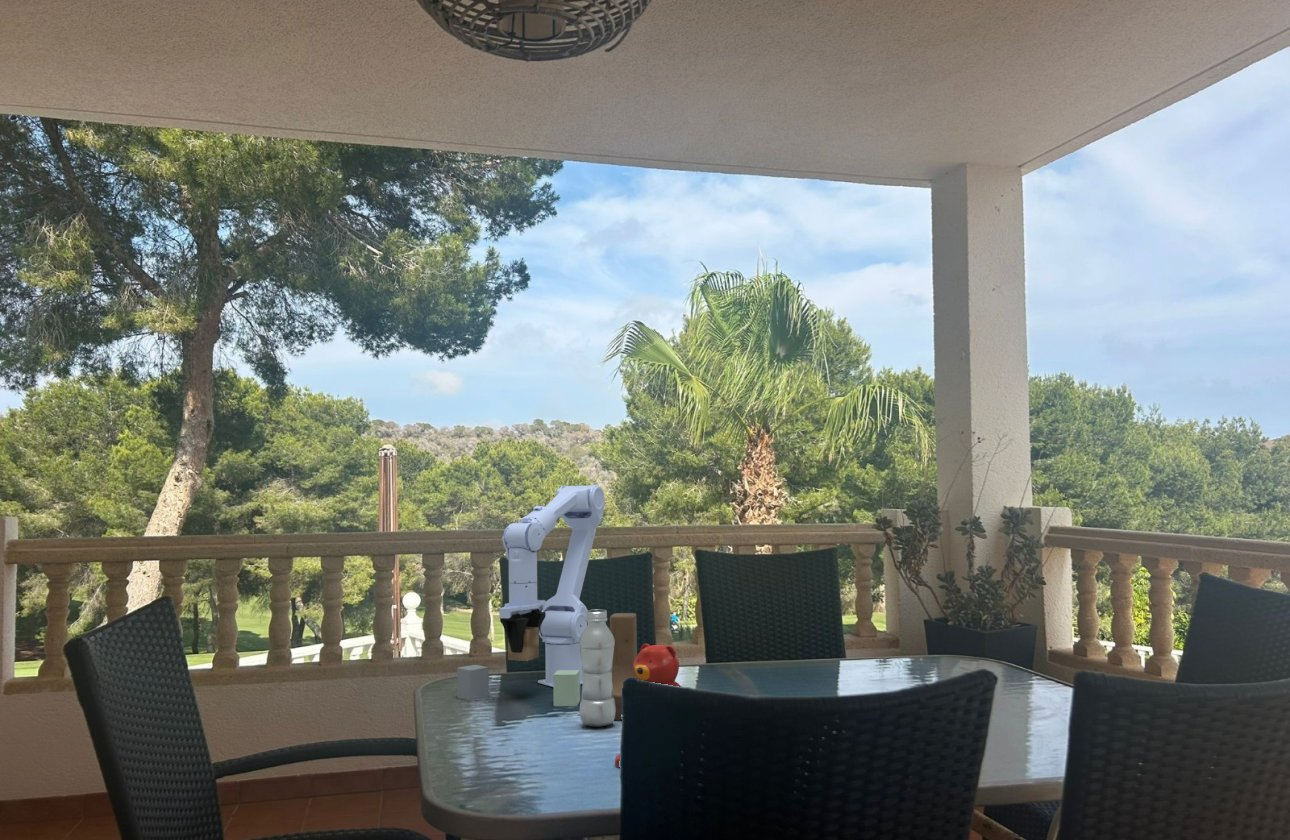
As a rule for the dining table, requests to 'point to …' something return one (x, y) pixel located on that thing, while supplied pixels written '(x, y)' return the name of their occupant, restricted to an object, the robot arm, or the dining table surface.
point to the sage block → (566, 687)
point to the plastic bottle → (597, 671)
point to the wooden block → (623, 653)
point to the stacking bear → (655, 667)
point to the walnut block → (527, 646)
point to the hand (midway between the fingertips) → (523, 650)
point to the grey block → (472, 682)
